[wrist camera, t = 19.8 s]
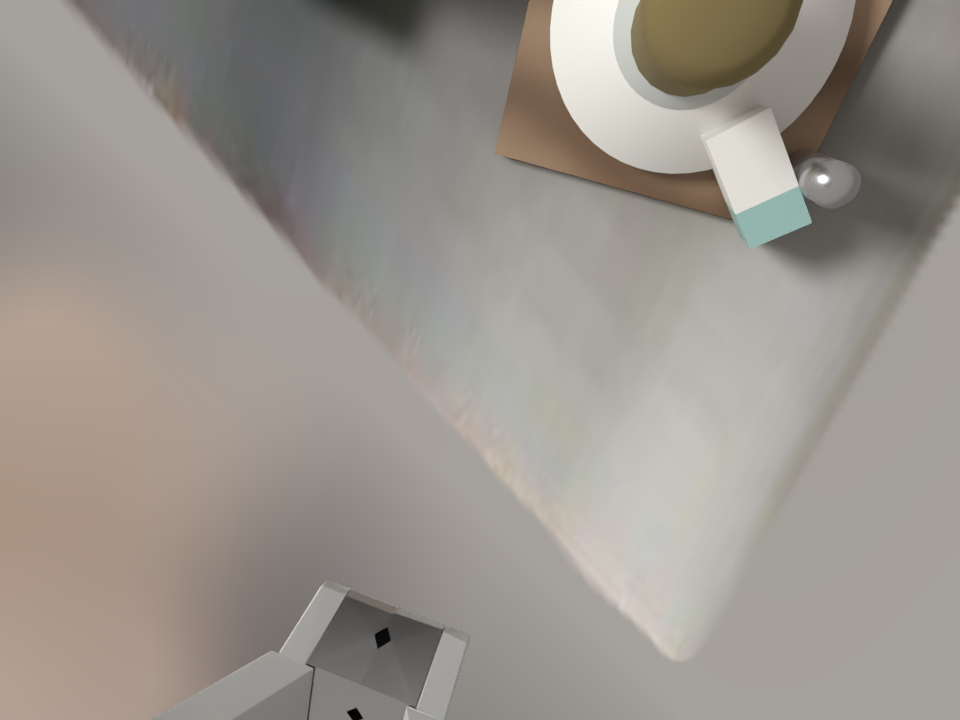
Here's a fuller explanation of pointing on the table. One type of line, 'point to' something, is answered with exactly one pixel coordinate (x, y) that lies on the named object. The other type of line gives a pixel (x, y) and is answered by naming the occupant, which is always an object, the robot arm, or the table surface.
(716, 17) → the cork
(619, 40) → the white oval plate
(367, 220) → the table surface
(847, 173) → the dowel
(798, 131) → the wooden board
